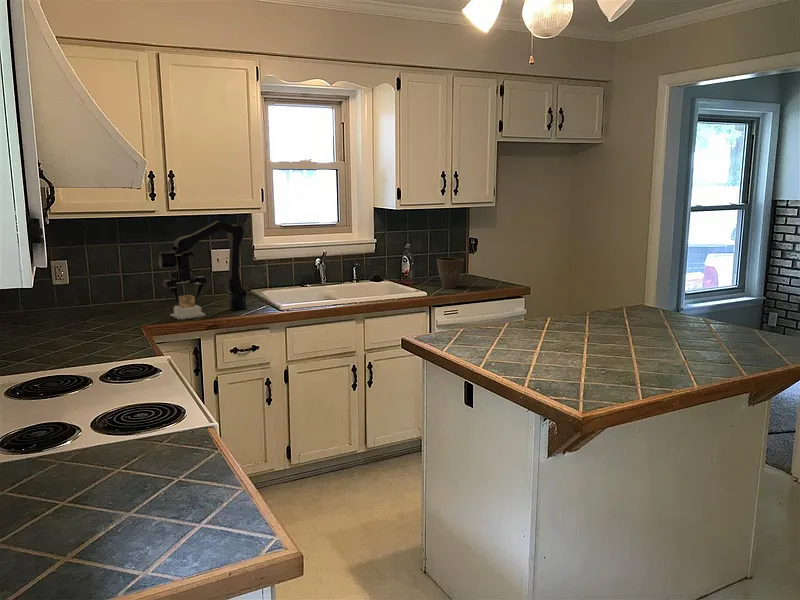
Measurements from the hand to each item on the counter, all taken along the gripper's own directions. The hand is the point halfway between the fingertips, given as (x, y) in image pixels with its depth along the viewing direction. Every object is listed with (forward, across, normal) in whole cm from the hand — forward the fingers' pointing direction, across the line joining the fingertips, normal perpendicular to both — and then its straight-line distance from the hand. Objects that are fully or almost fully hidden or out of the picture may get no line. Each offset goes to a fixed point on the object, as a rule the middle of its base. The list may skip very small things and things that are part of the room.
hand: (186, 300), depth 288 cm
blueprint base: (+7, 0, 0) cm, 7 cm away
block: (+3, 0, 0) cm, 3 cm away
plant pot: (+7, -138, +30) cm, 141 cm away
